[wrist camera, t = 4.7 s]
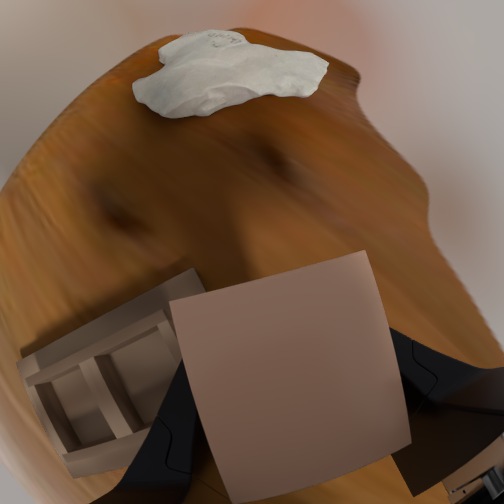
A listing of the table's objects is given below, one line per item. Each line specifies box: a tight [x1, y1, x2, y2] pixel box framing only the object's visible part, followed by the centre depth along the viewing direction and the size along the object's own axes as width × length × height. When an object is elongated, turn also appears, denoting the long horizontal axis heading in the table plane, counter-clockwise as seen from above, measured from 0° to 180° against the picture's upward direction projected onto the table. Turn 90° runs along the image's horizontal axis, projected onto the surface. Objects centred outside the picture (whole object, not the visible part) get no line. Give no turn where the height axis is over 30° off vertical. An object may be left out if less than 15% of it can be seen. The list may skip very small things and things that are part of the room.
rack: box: [16, 267, 206, 478], centre depth 18 cm, size 12×20×4 cm, turn 119°
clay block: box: [169, 250, 412, 504], centre depth 10 cm, size 4×4×11 cm
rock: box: [132, 30, 329, 118], centre depth 26 cm, size 21×5×15 cm
